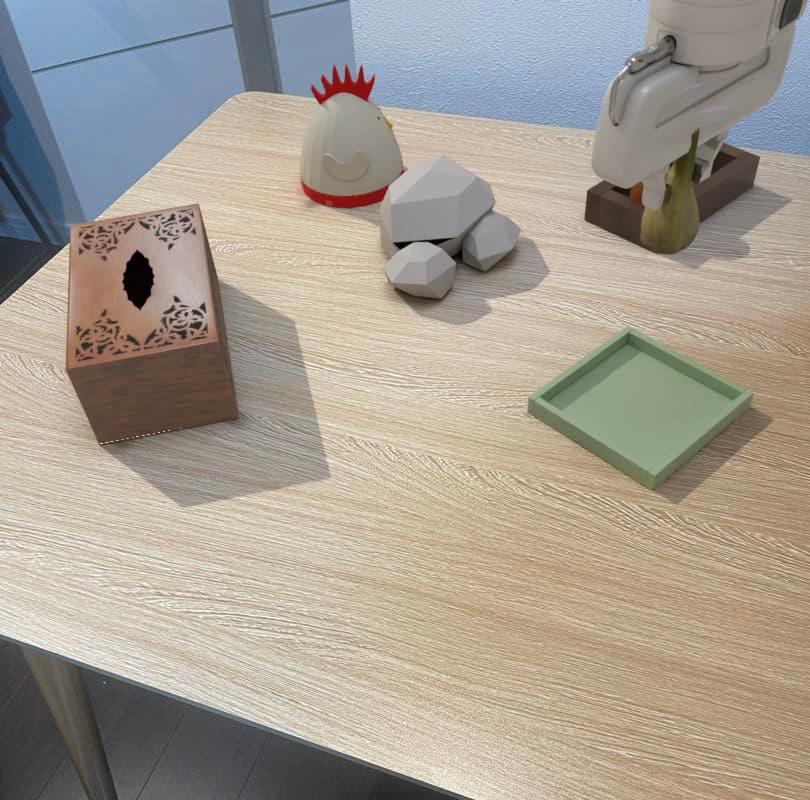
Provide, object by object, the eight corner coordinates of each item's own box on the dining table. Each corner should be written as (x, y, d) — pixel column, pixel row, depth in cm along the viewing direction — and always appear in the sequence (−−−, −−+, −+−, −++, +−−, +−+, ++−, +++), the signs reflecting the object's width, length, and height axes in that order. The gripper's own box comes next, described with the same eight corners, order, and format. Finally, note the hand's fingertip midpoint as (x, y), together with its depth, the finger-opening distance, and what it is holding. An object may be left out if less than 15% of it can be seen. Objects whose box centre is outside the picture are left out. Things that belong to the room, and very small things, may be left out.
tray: (749, 407, 91) (754, 392, 90) (651, 490, 85) (655, 475, 83) (625, 340, 99) (627, 325, 97) (527, 411, 93) (528, 396, 91)
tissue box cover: (239, 418, 95) (217, 341, 87) (99, 445, 94) (65, 369, 86) (218, 278, 111) (198, 203, 104) (99, 300, 110) (70, 225, 102)
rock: (543, 243, 112) (547, 169, 104) (434, 324, 103) (430, 248, 96) (432, 196, 120) (429, 123, 113) (322, 266, 111) (311, 193, 104)
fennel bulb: (650, 222, 84) (671, 90, 75) (703, 234, 82) (731, 100, 73) (628, 256, 81) (648, 122, 72) (683, 268, 79) (711, 133, 70)
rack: (753, 186, 117) (760, 156, 114) (655, 253, 109) (660, 223, 106) (682, 158, 122) (687, 128, 119) (583, 219, 114) (586, 189, 111)
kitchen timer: (402, 205, 119) (394, 88, 108) (298, 210, 120) (279, 95, 108) (404, 151, 128) (396, 38, 117) (306, 156, 129) (289, 44, 117)
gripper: (653, 78, 61) (626, 257, 72) (823, -15, 70) (776, 159, 80) (581, 51, 65) (565, 227, 75) (751, -34, 73) (716, 136, 83)
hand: (675, 191), depth 78 cm, fingers closed on fennel bulb, 4 cm apart
